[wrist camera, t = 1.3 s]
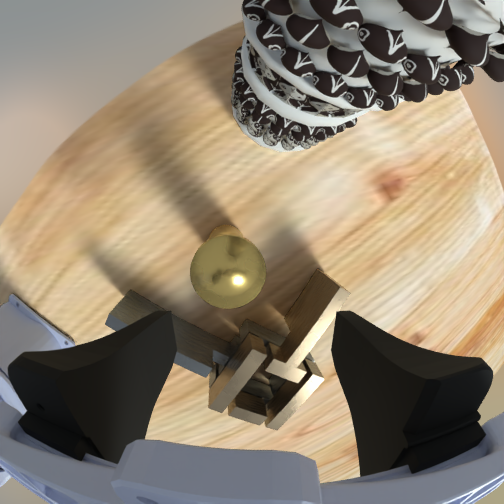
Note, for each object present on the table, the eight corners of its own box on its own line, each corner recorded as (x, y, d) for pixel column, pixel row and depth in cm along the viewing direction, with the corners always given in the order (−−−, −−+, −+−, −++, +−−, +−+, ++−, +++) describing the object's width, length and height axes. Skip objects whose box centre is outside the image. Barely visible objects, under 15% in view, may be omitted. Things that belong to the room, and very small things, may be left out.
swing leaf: (268, 396, 25) (277, 430, 20) (209, 373, 23) (208, 408, 19) (349, 288, 23) (376, 309, 18) (290, 251, 22) (308, 266, 17)
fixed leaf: (307, 347, 24) (324, 378, 19) (268, 395, 25) (277, 430, 20) (143, 261, 21) (123, 280, 16) (115, 323, 22) (95, 351, 17)
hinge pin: (194, 250, 21) (177, 286, 13) (218, 211, 21) (214, 221, 12) (234, 273, 22) (241, 320, 13) (257, 234, 21) (280, 260, 13)
